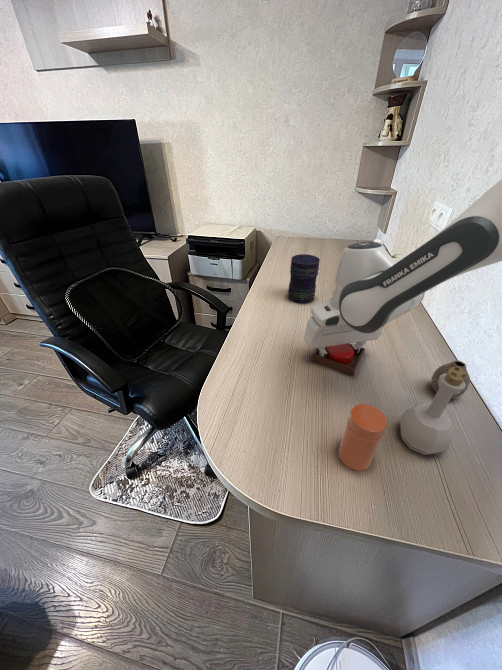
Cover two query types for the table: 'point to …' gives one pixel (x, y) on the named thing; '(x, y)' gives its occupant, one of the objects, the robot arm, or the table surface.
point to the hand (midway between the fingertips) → (338, 354)
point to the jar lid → (340, 353)
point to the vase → (445, 369)
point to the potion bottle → (433, 417)
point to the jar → (362, 436)
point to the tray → (340, 367)
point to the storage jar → (303, 278)
